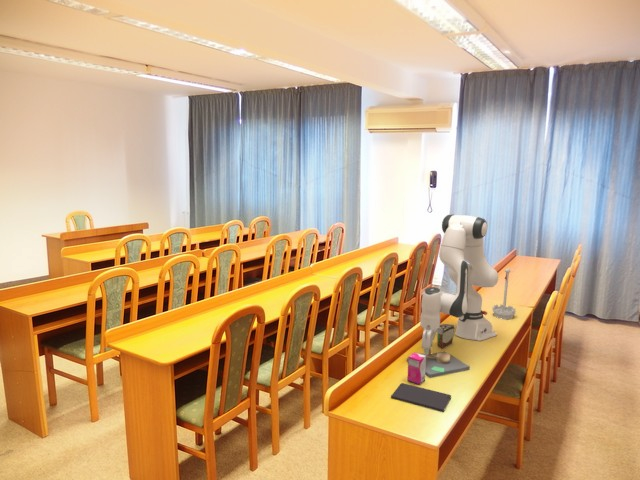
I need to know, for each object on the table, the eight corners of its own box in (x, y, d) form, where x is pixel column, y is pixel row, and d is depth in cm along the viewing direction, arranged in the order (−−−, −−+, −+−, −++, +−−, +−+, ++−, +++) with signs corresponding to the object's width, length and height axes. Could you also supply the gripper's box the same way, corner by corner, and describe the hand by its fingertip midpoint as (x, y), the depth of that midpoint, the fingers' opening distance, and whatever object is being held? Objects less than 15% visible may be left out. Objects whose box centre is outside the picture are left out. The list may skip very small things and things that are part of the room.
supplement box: (413, 376, 212) (414, 351, 210) (425, 380, 208) (426, 355, 206) (406, 380, 207) (407, 356, 205) (419, 385, 204) (420, 360, 202)
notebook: (390, 399, 193) (443, 413, 183) (391, 395, 193) (443, 409, 183) (401, 386, 204) (451, 398, 194) (401, 382, 204) (451, 395, 194)
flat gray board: (444, 354, 235) (445, 350, 235) (470, 370, 219) (470, 366, 218) (406, 361, 227) (406, 357, 226) (430, 378, 210) (430, 374, 210)
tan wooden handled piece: (450, 359, 225) (451, 343, 224) (448, 364, 220) (449, 348, 218) (419, 354, 231) (420, 338, 229) (417, 359, 225) (418, 343, 224)
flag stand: (495, 311, 300) (499, 264, 294) (517, 315, 292) (522, 267, 287) (489, 316, 289) (493, 268, 284) (511, 321, 282) (516, 272, 276)
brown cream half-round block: (443, 339, 253) (444, 321, 251) (453, 343, 249) (455, 325, 247) (430, 346, 245) (431, 327, 243) (440, 349, 240) (442, 331, 238)
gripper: (433, 331, 212) (431, 360, 215) (440, 316, 231) (438, 343, 234) (419, 328, 215) (417, 357, 217) (426, 314, 233) (425, 341, 236)
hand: (428, 350), depth 226 cm, fingers open, 8 cm apart
